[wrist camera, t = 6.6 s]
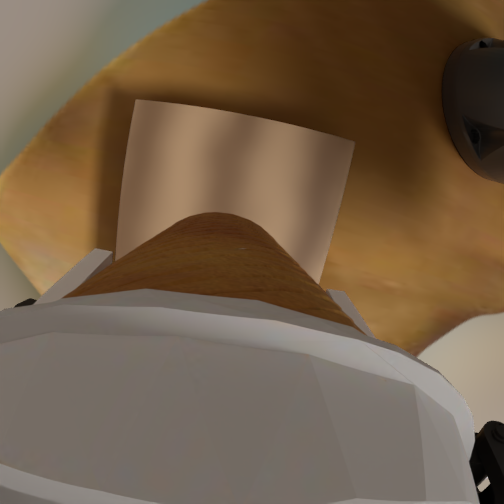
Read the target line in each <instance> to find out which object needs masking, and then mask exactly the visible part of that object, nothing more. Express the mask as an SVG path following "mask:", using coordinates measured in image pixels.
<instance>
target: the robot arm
mask: <svg viewBox="0 0 504 504" xmlns="http://www.w3.org/2000/svg"><path fill="white" fill-rule="evenodd" d="M442 98H443V108H444V114H445V118H446V122H447V126H448V129H449V132H450V135H451V137H452V140H453V142H454V144H455V146H456V148H457V150H458V152H459V153H460V155H461V157H462V158H463V159H464V161H465V162H466V163H467V165H468V166H469V167H470V168H471V169H472V170H473V171H474V172H476V173H477V174H478V175H480V176H481V177H483V178H485V179H488V180H491V181H495V182H499V183H503V184H504V40H499V39H494V38H479V39H476V40H472V41H469V42H466V43H463V44H461V45H460V46H459V47H457V48H456V49H455V50H454V51H453V53H452V54H451V56H450V57H449V59H448V61H447V64H446V67H445V71H444V75H443V83H442ZM112 257H113V252H112V251H107V250H102V249H96V248H95V249H94V250H92V251H91V252H90V253H89V254H88V255H87V256H85V257H84V258H83V259H82V260H81V261H80V262H79V263H77V264H76V265H75V266H74V267H73V268H72V269H71V270H70V271H68V272H67V273H66V274H65V275H64V276H63V277H62V278H61V279H60V280H59V281H57V282H56V283H55V284H54V285H53V286H52V287H51V288H50V289H49V290H48V291H47V292H46V293H45V294H43V295H42V296H41V297H40V298H39V299H38V300H34V299H27V300H25V301H23V302H21V303H19V304H17V305H16V306H15V307H22V306H29V305H35V304H42V303H49V302H54V301H57V300H59V299H61V298H62V297H64V296H65V295H67V294H68V293H70V292H71V291H73V290H74V289H76V288H77V287H78V286H79V285H81V284H82V283H84V282H86V281H87V280H89V279H90V278H92V277H93V276H94V275H95V274H97V273H99V272H100V271H102V270H103V269H105V268H106V267H107V266H109V265H111V264H112ZM326 293H327V294H328V296H329V297H330V298H331V299H332V300H333V301H334V302H335V303H337V304H338V305H339V306H340V307H341V309H342V311H343V312H345V313H346V314H347V315H348V316H349V317H350V318H351V319H352V320H353V321H354V324H355V325H357V326H358V327H359V328H360V329H361V330H362V331H363V332H364V333H365V334H366V335H367V336H369V337H372V338H375V337H374V335H373V333H372V332H371V330H370V329H369V327H368V326H367V324H366V323H365V321H364V320H363V318H362V317H361V315H360V314H359V312H358V311H357V309H356V308H355V306H354V305H353V303H352V302H351V301H350V299H349V298H348V296H347V295H346V293H345V292H344V291H338V290H331V289H327V290H326ZM15 307H14V308H15ZM375 339H376V338H375ZM474 434H475V442H474V446H473V450H472V453H471V457H470V460H469V465H470V468H471V472H472V475H473V479H474V483H475V487H476V491H477V495H478V499H479V503H480V504H504V424H503V423H501V422H497V421H489V422H487V423H486V424H485V425H484V426H483V428H482V429H481V430H480V432H479V433H475V432H474ZM487 476H488V479H489V481H490V485H489V486H488V487H487V488H486V489H484V490H483V491H482V492H480V491H479V489H478V488H477V486H478V485H479V484H481V483H482V482H483V481H484V480H485V479H486V478H487Z"/></svg>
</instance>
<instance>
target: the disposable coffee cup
mask: <svg viewBox="0 0 504 504" xmlns="http://www.w3.org/2000/svg"><path fill="white" fill-rule="evenodd" d="M474 442H475V434H474V421H473V415H472V413H471V411H470V409H469V408H468V405H467V403H466V402H465V400H464V398H463V396H462V395H461V394H460V393H459V392H458V391H457V390H456V389H455V388H454V387H453V386H452V385H451V384H450V383H449V381H448V380H447V379H446V378H445V377H444V376H443V375H442V374H441V373H440V372H439V371H438V370H436V369H434V368H433V367H431V366H429V365H428V364H426V363H424V362H423V361H421V360H419V359H418V358H416V357H414V356H413V355H411V354H409V353H408V352H406V351H404V350H403V349H401V348H399V347H398V346H396V345H394V344H391V343H388V342H385V341H381V340H378V339H375V338H372V337H369V336H367V335H366V334H365V333H364V332H363V331H362V330H361V329H360V328H359V327H358V326H357V325H355V324H354V321H353V320H352V319H351V318H350V317H349V316H348V315H347V314H346V313H345V312H343V311H342V309H341V307H340V306H339V305H338V304H337V303H335V302H334V301H333V300H332V299H331V298H330V297H329V296H328V294H327V293H326V292H325V291H324V290H323V289H322V288H321V287H320V286H319V285H318V284H317V283H316V282H315V280H314V279H312V277H311V276H310V275H308V273H307V272H306V271H305V270H304V269H303V268H302V267H301V266H300V264H298V263H297V262H296V261H295V260H294V259H293V258H292V257H291V256H290V255H289V254H288V253H287V252H286V251H285V250H284V249H283V248H282V247H281V246H280V245H279V244H278V243H277V242H276V240H275V239H274V238H273V237H272V236H271V235H270V234H269V233H268V232H267V231H266V230H264V229H263V228H262V227H261V226H259V225H258V224H256V223H254V222H253V221H251V220H249V219H246V218H243V217H240V216H237V215H234V214H229V213H221V212H206V213H200V214H196V215H192V216H189V217H187V218H184V219H182V220H180V221H178V222H176V223H175V224H173V225H172V226H170V227H169V228H167V229H166V230H164V231H162V232H161V233H159V234H157V235H156V236H154V237H153V238H151V239H149V240H148V241H146V242H144V243H143V244H141V245H140V246H138V247H137V248H135V249H134V250H132V251H131V252H129V253H128V254H126V255H125V256H123V257H121V258H120V259H118V260H117V261H115V262H114V263H112V264H111V265H109V266H107V267H106V268H105V269H103V270H102V271H100V272H99V273H97V274H95V275H94V276H93V277H92V278H90V279H89V280H87V281H86V282H84V283H82V284H81V285H79V286H78V287H77V288H76V289H74V290H73V291H71V292H70V293H68V294H67V295H65V296H64V297H62V298H61V299H59V300H57V301H54V302H49V303H42V304H35V305H29V306H22V307H15V308H8V309H4V310H2V311H0V504H480V503H479V499H478V495H477V491H476V487H475V483H474V479H473V475H472V472H471V468H470V465H469V460H470V457H471V453H472V450H473V446H474Z"/></svg>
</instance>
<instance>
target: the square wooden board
mask: <svg viewBox="0 0 504 504" xmlns="http://www.w3.org/2000/svg"><path fill="white" fill-rule="evenodd" d="M354 147H355V141H351V140H348V139H344V138H341V137H337V136H334V135H330V134H327V133H323V132H319V131H315V130H312V129H308V128H304V127H300V126H295V125H291V124H287V123H283V122H278V121H274V120H269V119H265V118H260V117H255V116H250V115H245V114H239V113H234V112H229V111H223V110H217V109H211V108H204V107H198V106H191V105H183V104H176V103H168V102H159V101H149V100H139V99H136V101H135V106H134V111H133V116H132V121H131V127H130V132H129V138H128V144H127V151H126V157H125V164H124V172H123V179H122V187H121V196H120V205H119V216H118V227H117V240H116V257H115V261H117V260H118V259H120V258H121V257H123V256H125V255H126V254H128V253H129V252H131V251H132V250H134V249H135V248H137V247H138V246H140V245H141V244H143V243H144V242H146V241H148V240H149V239H151V238H153V237H154V236H156V235H157V234H159V233H161V232H162V231H164V230H166V229H167V228H169V227H170V226H172V225H173V224H175V223H176V222H178V221H180V220H182V219H184V218H187V217H189V216H192V215H196V214H200V213H206V212H221V213H229V214H234V215H237V216H240V217H243V218H246V219H249V220H251V221H253V222H254V223H256V224H258V225H259V226H261V227H262V228H263V229H264V230H266V231H267V232H268V233H269V234H270V235H271V236H272V237H273V238H274V239H275V240H276V242H277V243H278V244H279V245H280V246H281V247H282V248H283V249H284V250H285V251H286V252H287V253H288V254H289V255H290V256H291V257H292V258H293V259H294V260H295V261H296V262H297V263H298V264H300V266H301V267H302V268H303V269H304V270H305V271H306V272H307V273H308V275H310V276H311V277H312V279H314V280H315V282H316V283H317V284H319V281H320V277H321V274H322V271H323V267H324V264H325V260H326V257H327V253H328V250H329V246H330V243H331V239H332V235H333V232H334V228H335V224H336V221H337V217H338V213H339V209H340V205H341V201H342V197H343V193H344V189H345V185H346V181H347V177H348V173H349V169H350V164H351V160H352V156H353V151H354Z"/></svg>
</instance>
